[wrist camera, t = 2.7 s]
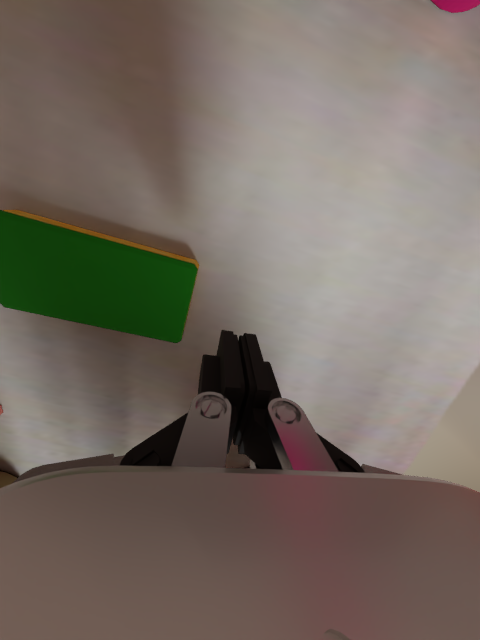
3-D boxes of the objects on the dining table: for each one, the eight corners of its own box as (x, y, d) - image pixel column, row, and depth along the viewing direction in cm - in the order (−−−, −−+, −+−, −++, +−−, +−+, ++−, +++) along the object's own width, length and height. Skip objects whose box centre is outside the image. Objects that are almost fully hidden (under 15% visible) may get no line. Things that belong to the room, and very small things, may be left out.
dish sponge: (16, 208, 18) (-12, 208, 16) (200, 260, 21) (198, 266, 19) (20, 296, 21) (-3, 306, 19) (183, 331, 24) (180, 344, 21)
